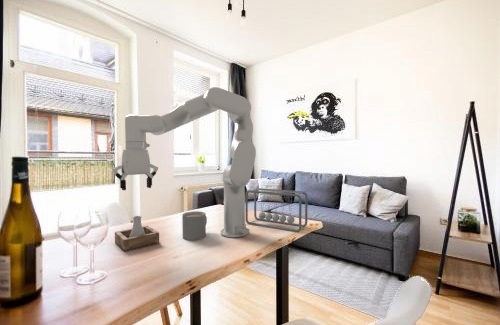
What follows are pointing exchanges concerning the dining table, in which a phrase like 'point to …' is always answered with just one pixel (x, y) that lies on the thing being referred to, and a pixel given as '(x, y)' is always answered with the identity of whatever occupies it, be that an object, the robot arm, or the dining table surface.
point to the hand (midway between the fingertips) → (136, 188)
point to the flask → (137, 227)
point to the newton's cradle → (275, 216)
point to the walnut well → (136, 239)
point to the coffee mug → (194, 225)
